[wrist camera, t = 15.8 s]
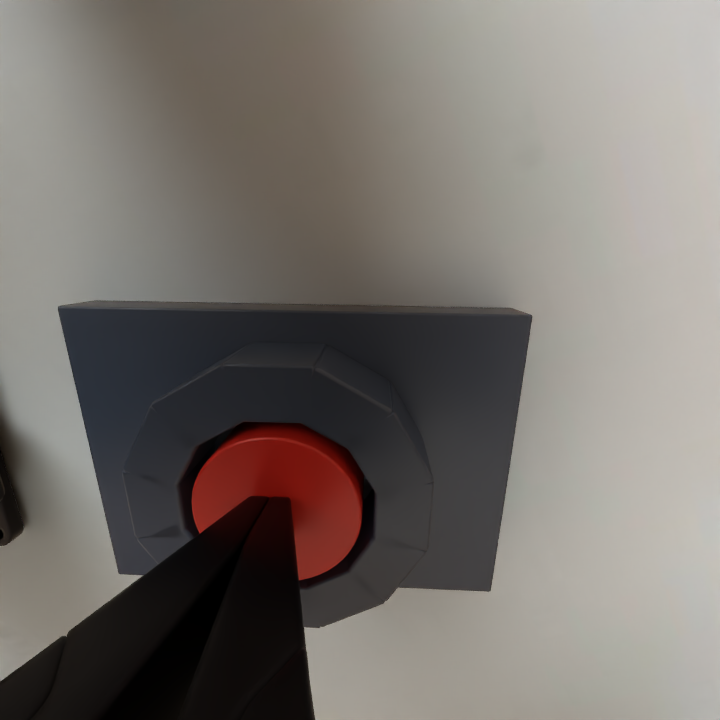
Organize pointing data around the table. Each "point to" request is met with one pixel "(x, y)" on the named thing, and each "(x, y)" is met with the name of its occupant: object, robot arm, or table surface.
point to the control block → (309, 425)
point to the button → (287, 487)
